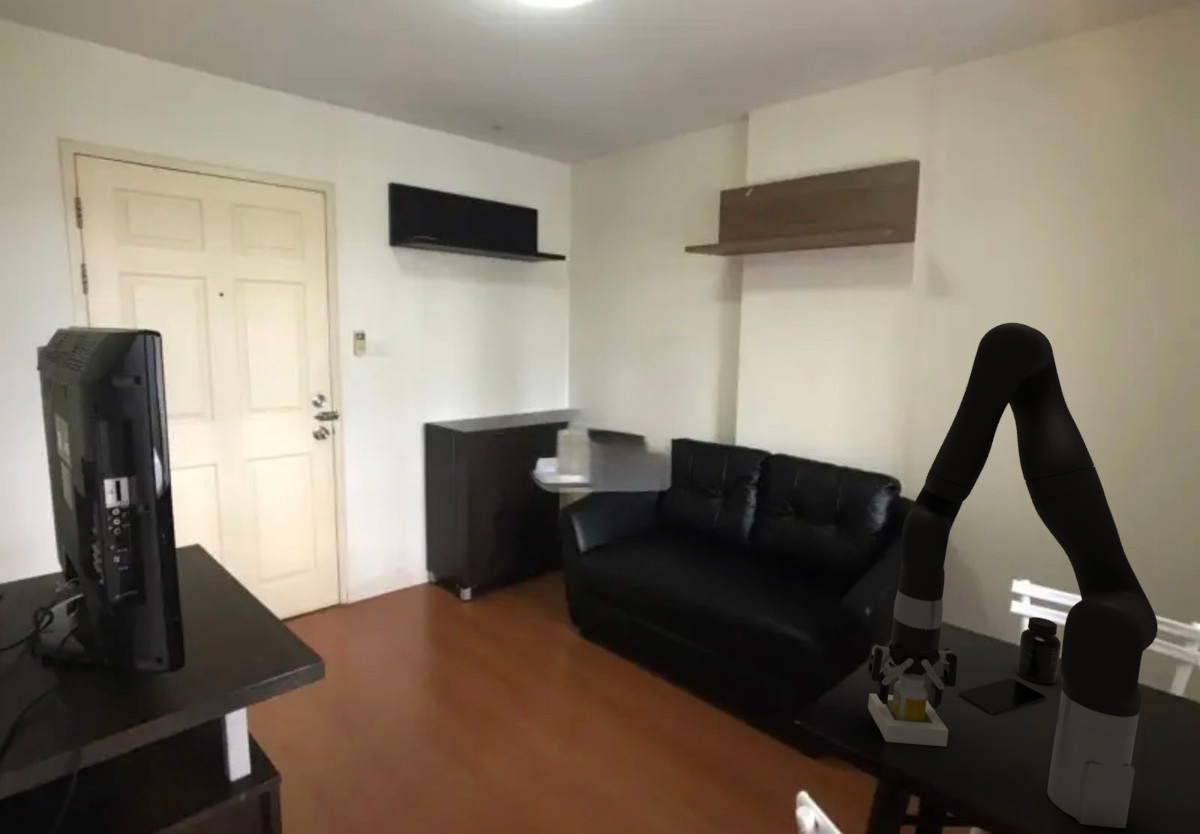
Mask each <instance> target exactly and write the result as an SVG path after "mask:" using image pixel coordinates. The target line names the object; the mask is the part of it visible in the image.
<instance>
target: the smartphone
mask: <svg viewBox="0 0 1200 834" xmlns="http://www.w3.org/2000/svg"><path fill="white" fill-rule="evenodd" d="M957 696H958V697H960V698H961V699H962V700H964V701H965V702H968V703H969V704H971V705H973V706H974V707H975V708H978V709H979V710H981V711H983V712H984V713H985V714H989V715H990V716H998V715H1002V714H1006V713H1008V712H1011V711H1015V710H1018V709H1022V708H1025V707H1028V706H1031V705H1035V704H1038V703H1042V702H1045V701H1046V700H1047V698H1046V696H1045V695H1044V694H1042V692H1039V691H1037V690H1035V689H1033V688H1031V687H1029V686H1028V685H1026V684H1024V683H1022V682H1020V681H1018V680H1017V679H1014V678H1010V677H1009V678H1007V677H1006V678H1004V679H1000V680H996V681H993V682H989V683H986V684H982V685H979V686H975V687H971V688H969V689H968V688H967V689H964V690H961V691H959V692H958V693H957Z"/></svg>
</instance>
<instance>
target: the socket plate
mask: <svg viewBox="0 0 1200 834" xmlns="http://www.w3.org/2000/svg"><path fill="white" fill-rule="evenodd" d="M868 695H869V696H868V703H867V704H868V705H867V709H868V711H869V713H870V714H871V715H870V716H871V717H872V718H873V721H874V722H875V724H876V726H877V727H878V729H879V731H880V733H881V735H882V737H883V738H884V740H885V742H886V743H897V744H900V743H901V744H912V745H923V746H924V745H925V746H934V747H935V746H936V747H946V748H947V747H948V746H947V744H948V738H949V729H948V728H947V726H946V725H945V723H944V722H943V721H942V719H941V718H940V716H939V715H938V714H937V712H936V711H935V708H932V707H931V705H930V704H929V701H928V700H927V702H926V710H925V718H924V723H922V722H909V721H897V720H894V718H893V716H892V715H891V709H892V701H893V694H892V695H891V694H888V703H887V704H882V702H881V701H880V700H879V698H878V696H877V693H869V694H868Z"/></svg>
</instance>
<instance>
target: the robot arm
mask: <svg viewBox="0 0 1200 834" xmlns="http://www.w3.org/2000/svg"><path fill="white" fill-rule="evenodd" d="M1008 405H1009V406H1010V410H1011V412H1012V414H1013V418H1014V423H1015V428H1016V442H1017V448H1018V449H1017V450H1018V451H1017V452H1018V457H1019V464H1020V468H1021V473H1022V477H1023V480H1024V481H1025V485H1026V488H1027V490H1028V494H1029V497H1030V500H1031V502H1032V506H1033V507H1034V510H1035V512H1036V514H1037V516H1038V517H1039V519H1041V521H1042V523H1043V525H1044V526H1045V527H1046V528H1047V530H1048V531H1049V532H1050V534H1051V536H1053V538H1054V539H1055V541H1056V542H1057V543H1058V544H1059V546H1060V547H1061V549H1062V550H1063V551H1064V553H1065V555H1066V556H1067V557H1068V558H1067V559H1068V560H1069V562H1070V565H1071V567H1072V570H1073V572H1074V575H1075V580H1076V582H1077V586H1078V591H1079V593H1080V599H1081V600H1080V601H1078V602H1076V603H1075V604H1074V605H1073V606H1072V607H1071V608H1070V610H1069V611H1068V614H1067V616H1066V620H1065V623H1064V629H1063V635H1062V645H1061V646H1062V647H1061V655H1060V656H1061V657H1060V666H1059V667H1060V673H1061V676H1062V685H1061V691H1060V692H1061V693H1060V699H1059V706H1058V712H1057V713H1058V714H1057V719H1056V724H1055V725H1056V727H1055V731H1054V732H1055V733H1054V740H1053V741H1054V742H1053V746H1052V752H1051V753H1052V754H1051V755H1052V756H1051V759H1050V768H1049V769H1050V770H1049V776H1048V783H1047V788H1046V789H1047V790H1046V792H1047V796H1048V798H1049V799H1050V800H1051V802H1052V803H1053V804H1054V805H1055V806H1056V807H1057V808H1058V809H1060V811H1063V812H1064V813H1065V814H1067V815H1069V816H1071V817H1073V818H1074V819H1075V820H1077V822H1078V823H1079V824H1080V825H1084V826H1093V827H1094V826H1096V827H1106V828H1107V827H1108V828H1114V829H1115V828H1116V829H1119V828H1120V829H1126V827H1127V826H1126V825H1127V821H1128V815H1129V809H1130V803H1131V802H1130V801H1131V796H1132V791H1133V786H1134V785H1133V784H1134V777H1135V772H1136V771H1135V768H1134V766H1132V758H1133V752H1134V748H1135V747H1134V746H1135V740H1136V735H1137V729H1138V724H1139V716H1140V710H1141V705H1142V692H1141V690H1140V688H1139V687H1138V686H1139V677H1140V671H1141V663H1142V662H1141V661H1142V658H1143V653H1144V652H1145V650H1147V649H1148V648H1149V647H1150V646H1151V645H1152V644H1153V643H1154V641H1155V640H1156V638H1157V635H1158V630H1159V628H1158V620H1157V616H1156V613H1155V611H1154V609H1153V607H1152V605H1151V603H1150V600H1149V599H1148V597H1147V595H1146V593H1145V591H1144V589H1143V587H1142V585H1141V583H1140V582H1139V579H1138V578H1137V575H1136V573H1135V572H1134V570H1133V567H1132V565H1131V563H1130V562H1129V559H1128V556H1127V555H1126V552H1125V549H1124V547H1123V545H1122V544H1123V543H1122V540H1121V537H1120V534H1119V530H1118V528H1117V525H1116V522H1115V519H1114V516H1113V513H1112V511H1111V509H1110V506H1109V502H1108V500H1107V497H1106V493H1105V491H1104V487H1103V484H1102V481H1101V479H1100V476H1099V474H1098V471H1097V468H1096V466H1095V463H1094V460H1093V459H1092V456H1091V454H1090V452H1089V449H1088V447H1087V445H1086V443H1085V441H1084V438H1083V436H1082V433H1081V432H1080V429H1079V427H1078V425H1077V424H1076V421H1075V420H1074V417H1073V416H1072V413H1071V411H1070V409H1069V407H1068V405H1067V402H1066V399H1065V395H1064V393H1063V389H1062V384H1061V380H1060V377H1059V374H1058V369H1057V364H1056V360H1055V355H1054V351H1053V347H1052V344H1051V342H1050V340H1049V338H1048V337H1047V336H1046V334H1044V333H1043V332H1042V331H1040V330H1038V329H1036V328H1034V327H1032V326H1030V325H1027V324H1024V323H1019V322H1006V323H1005V322H1004V323H1001V324H999V325H996V326H994V327H993V328H990V329H989V330H988V331H987V332H986V333H985V334H984V335H983V336H982V338H981V339H980V341H979V344H978V347H977V349H976V353H975V356H974V360H973V363H972V367H971V371H970V374H969V377H968V382H967V384H966V387H965V391H964V393H963V395H962V398H961V401H960V404H959V406H958V409H957V412H956V414H955V416H954V419H953V421H952V423H951V425H950V427H949V429H948V430H947V431H948V432H947V433H946V436H945V438H944V439H943V442H942V444H941V446H940V448H939V449H938V452H937V454H936V456H935V458H934V459H933V462H932V464H931V466H930V468H929V470H928V473H927V475H926V478H925V482H924V485H923V486H922V488H921V490H920V491H919V493H918V496H916V499H915V501H914V502H913V504H912V506H911V508H910V510H909V511H908V514H907V516H906V517H905V520H904V522H903V525H902V533H901V564H900V569H899V575H898V576H899V577H898V585H897V586H898V587H897V593H896V596H895V600H894V607H893V620H892V627H891V628H892V630H891V637H890V639H891V641H890V643H889V646H882V645H881V646H880V645H879V643H877V642H873V643H872V644H871V645H870V646H871V647H870V653H869V658H868V665H867V674H868V675H869V677H870V679H871V680H872V681H873V682H877V684H876V685H877V686H876V694H877V696H878V698H879V700H880V701H881V702H882V704H887V703H888V695H889V694H890V693H889V691H890V685H889V684H890V683H891V682H892V681H893V680H894V679H897V678H898V677H900V674H901V673H902V672H903V673H904V674H917V675H925V674H926V673H927V675H928V677H929V678H930V679H931V681H932V682H930V683H929V692H928V698H927V701H928V702H929V704H930V705H931V707H932V708H933V709H938V706H941V704H942V696H943V690H944V689H945V688H946V687H950V688H954V687H955V686H956V683H957V669H958V668H957V667H958V666H957V665H958V657H957V655H956V654H955V653H954V651H952V650H951V649H950V648H945V649H944V650H939V646H940V639H941V629H942V621H943V620H942V619H943V609H944V607H943V606H944V605H943V604H944V603H943V597H944V590H945V589H944V588H945V580H946V579H945V578H946V577H945V568H944V567H945V561H946V557H947V556H946V555H947V549H948V543H949V538H950V532H951V530H952V529H953V528H952V527H953V525H954V523H955V521H956V519H957V516H958V514H959V512H960V510H961V507H962V506H963V502H965V500H966V499H967V498H968V497H969V495H970V494H971V493H972V491H973V489H974V487H975V485H976V483H977V482H978V479H979V477H980V475H981V473H982V471H983V469H984V468H985V465H986V463H987V460H988V458H989V455H990V453H991V450H992V447H993V444H994V438H995V436H996V432H997V429H998V426H999V423H1000V422H1001V419H1002V417H1003V414H1004V412H1005V410H1006V409H1007V407H1008ZM888 655H889V657H890V658H889V659H888V660H887V661H886V662H885V663H884V667H883V668H882V669H881V667H882V661H883V660H885V658H886V656H888ZM939 660H941V662H942V663H943V665H942V666H943V667H942V675H940V676H939V675H938V673H937V672H936V670H935V669H934V668H933V667H934V665H936V663H937V662H938V661H939Z"/></svg>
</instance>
